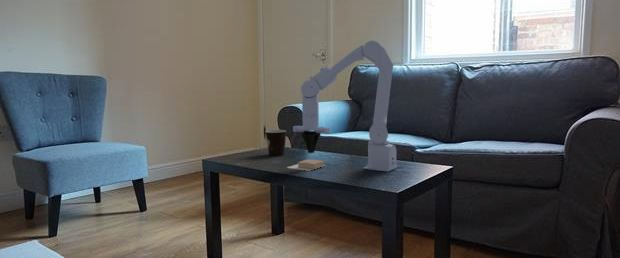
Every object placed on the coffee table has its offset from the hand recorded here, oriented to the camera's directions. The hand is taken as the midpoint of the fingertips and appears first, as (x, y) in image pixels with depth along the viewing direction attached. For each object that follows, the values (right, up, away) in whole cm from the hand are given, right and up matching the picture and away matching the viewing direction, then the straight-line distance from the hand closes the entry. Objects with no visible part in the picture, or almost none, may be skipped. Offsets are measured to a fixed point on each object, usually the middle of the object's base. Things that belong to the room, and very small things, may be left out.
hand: (311, 152), depth 162 cm
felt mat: (-2, -5, +2) cm, 6 cm away
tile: (+3, -4, -1) cm, 5 cm away
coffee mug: (-14, -3, +27) cm, 31 cm away
